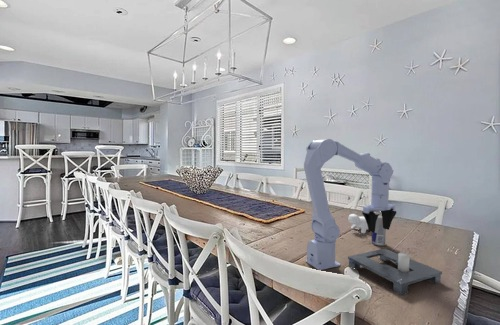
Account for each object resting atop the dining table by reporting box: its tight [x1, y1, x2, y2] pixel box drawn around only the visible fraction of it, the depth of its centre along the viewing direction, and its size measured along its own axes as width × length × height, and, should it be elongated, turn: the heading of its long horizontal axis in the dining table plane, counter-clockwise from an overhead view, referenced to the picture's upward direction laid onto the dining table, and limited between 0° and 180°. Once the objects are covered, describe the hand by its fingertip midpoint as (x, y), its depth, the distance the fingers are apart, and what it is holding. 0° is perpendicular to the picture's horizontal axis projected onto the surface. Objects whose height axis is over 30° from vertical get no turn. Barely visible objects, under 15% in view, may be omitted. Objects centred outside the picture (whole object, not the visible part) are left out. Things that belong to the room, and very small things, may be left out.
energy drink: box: [371, 214, 387, 247], centre depth 111 cm, size 5×5×12 cm
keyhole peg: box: [397, 252, 411, 273], centre depth 81 cm, size 5×5×8 cm
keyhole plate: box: [347, 248, 443, 296], centre depth 84 cm, size 18×20×3 cm
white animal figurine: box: [347, 213, 369, 234], centre depth 129 cm, size 9×8×15 cm
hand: (378, 230), depth 97 cm, fingers open, 7 cm apart
